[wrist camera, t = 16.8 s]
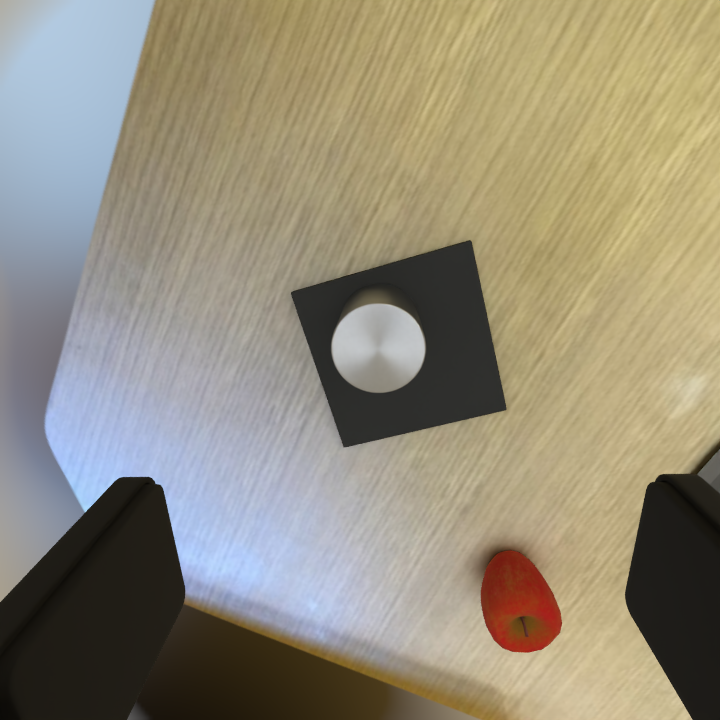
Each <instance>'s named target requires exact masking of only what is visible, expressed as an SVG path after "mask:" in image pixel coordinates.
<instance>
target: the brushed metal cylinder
mask: <svg viewBox="0 0 720 720" xmlns="http://www.w3.org/2000/svg"><path fill="white" fill-rule="evenodd" d="M331 353H332V358H333V362H334V364H335V367H336V368H337V370H338V372H339V373H340V374H341V376H342V377H343V378H344V379H345V380H346V381H347V382H349V383H350V384H351V385H353V386H355V387H356V388H359V389H361V390H364V391H367V392H372V393H385V392H390V391H394V390H397V389H399V388H401V387H403V386H405V385H406V384H408V383H409V382H410V381H411V380H412V379H413V378H414V377H415V376H416V375H417V374H418V372H419V371H420V369H421V367H422V365H423V362H424V359H425V355H426V342H425V336H424V333H423V329H422V326H421V322H420V318H419V315H418V311H417V308H416V306H415V304H414V302H413V301H412V299H411V298H410V297H409V296H408V294H406V293H405V292H404V291H403V290H401V289H400V288H397V287H395V286H393V285H389V284H382V283H378V284H371V285H368V286H365V287H363V288H361V289H359V290H358V291H356V292H355V293H354V294H353V295H352V296H351V297H350V298H349V299H348V301H347V302H346V304H345V306H344V308H343V311H342V313H341V316H340V318H339V321H338V323H337V326H336V328H335V331H334V333H333V337H332V342H331Z"/></svg>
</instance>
